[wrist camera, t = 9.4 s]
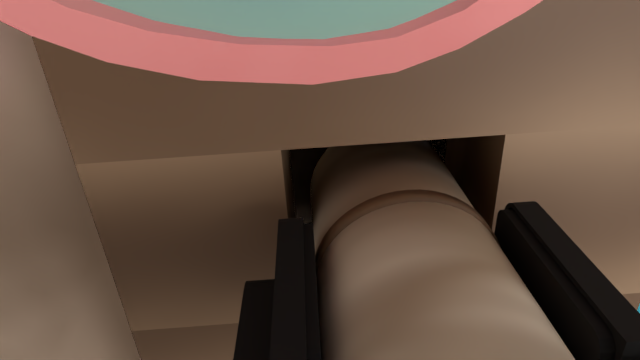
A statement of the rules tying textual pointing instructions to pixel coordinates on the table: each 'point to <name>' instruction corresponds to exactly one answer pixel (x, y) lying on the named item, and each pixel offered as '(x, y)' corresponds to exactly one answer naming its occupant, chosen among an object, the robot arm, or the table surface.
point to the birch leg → (414, 265)
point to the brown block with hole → (342, 130)
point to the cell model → (262, 34)
